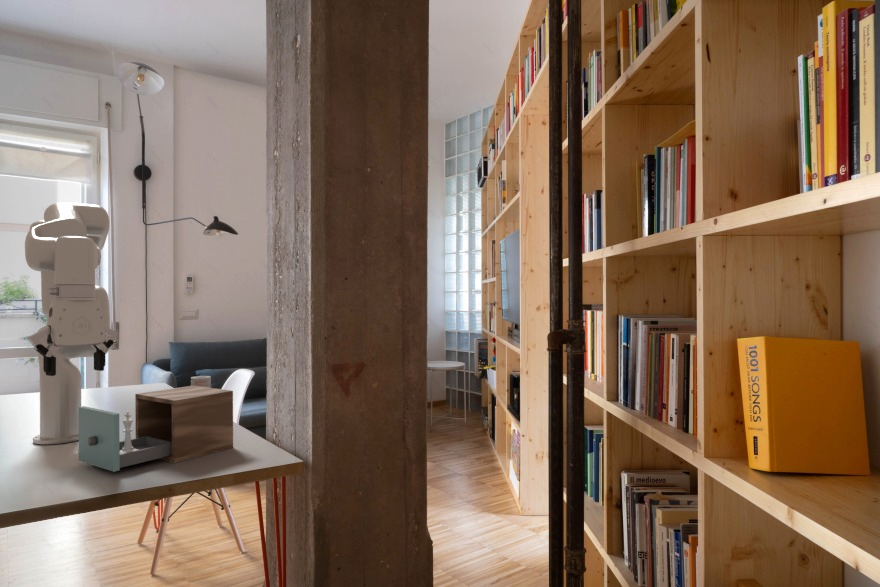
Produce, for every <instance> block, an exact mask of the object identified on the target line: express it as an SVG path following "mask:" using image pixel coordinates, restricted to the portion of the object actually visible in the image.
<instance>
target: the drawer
mask: <svg viewBox="0 0 880 587" xmlns="http://www.w3.org/2000/svg"><path fill="white" fill-rule="evenodd" d="M124 442H125V440H123V441H120V413H119V412H113V411H109V410H104V409H99V408H95V407H89V406H83V405H82V406H81V407H79V440H78V462H79V461H80V462H82V463H84V464H85V463H86V464H88V465H91V466H94V467H98V468H101V469H104V470H106V471H107V470H108V471H110V472H112V473H113V472H117V471H118V472H119V471H120V469H121V468H125V467H129V466H133V465H137V464H141V463H145V462H150V461H153V460H159V458H162V457H166V456H170V455H172V442H170V441H166V440H161V439H157V438H153V437H149V436H145V437H140V438H136V437H135V438H131V443H132V446H133V448H135V449H138V450H136V451H132V452H127V453H123V454H120V450H123V449H122V448H123V447H124Z"/></svg>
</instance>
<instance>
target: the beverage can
mask: <svg viewBox="0 0 880 587" xmlns="http://www.w3.org/2000/svg"><path fill="white" fill-rule="evenodd" d="M190 379H191V380H190V386H193V385H194V386H201V387H208V388H212V377H211V376H210V375H198V376H197V375H196V376H191V377H190Z"/></svg>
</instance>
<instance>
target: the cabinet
mask: <svg viewBox="0 0 880 587" xmlns="http://www.w3.org/2000/svg"><path fill="white" fill-rule="evenodd" d="M134 399H135V405H134V406H135V410H134V412H135V438H140V437H145V436H149V437H153V438H157V439H161V440H166V441H170V442H172V455H170V456H166V457H162V458H158V460H162V459H163V460H162V461H166V460H167V462H170V461H171V463H173V462H176V463H180V462H183V460H184V461H188V460H191V459H195V457H196V458H200V457H203V456H206V454H207V455H210V454H209V453H211V454H214V453H213V452H215V453H217V451H219V452H221V450H222V451H226V450H230V449H233V448H234V391H233V390H228V389H222V388H213V387H211V388H208V387H201V386H194V385H193V386H191V385H188V386H182V387H175V388H168V389H167V388H165V389H161V390H154V391H145V392H140V393H139V392H138V393H135V398H134ZM225 449H226V450H225ZM202 455H203V456H202ZM187 459H188V460H187ZM179 461H180V462H179Z"/></svg>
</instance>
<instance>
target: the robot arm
mask: <svg viewBox="0 0 880 587" xmlns="http://www.w3.org/2000/svg"><path fill="white" fill-rule="evenodd" d="M109 230H110V217H109V214H108V212H107V211H106V209H105V208H104V207H102V206H101V205H98V204H92V203H91V204H90V203H77V202H63V201H62V202H55V203H52V204H51V205H49V206H47V208H46V209H45V210H44V213H43V220H42V219H40V220H36V221H34V222H32V223H31V225H30V226H29V230H28V232H27V234H26V236H25V240H24V256H25V262H26V264H27V266H28V267H29V268H30V269H31V270H33V271H36V272H40V279H41V280H40V285H41V292H40V293H41V294H40V296H41V307H42V308H41V309H42V310H41V311H42V312H43V315H44V316H45V317H46V319H47V320H46V325H44V326H42V327H40V328H39V329H38V330H37V331H36V332H35V333H33V334H31V335H30V336H28V341H29V342H30V344H31V345H32V347H33V349H34V351H36V352H37V357H38V359H37V360H38V367H39V369H38V370H39V434H38V435H35V436H33V438H32V443H33V444H36V445H57V444H59V445H60V444H65V443H72V442H77V441H79V407H82V374H81V371H80V369H79V368H78V367H77V366H76V365H75V364H74V363H72V362H71V359H76V358H91V357H92V358H93V370H94V371H100V372H102V371H104V370H105V366H106V355H107V354H108V352H110V349H111V347H112V346H113V344H114V341H116V338H117V336H118V332H117V330H116V331H115V330H113V329H111V321H110V319H111V318H110V300H109V295H108V292H107V290H106V289H105V288H104V286H100V285H96V270H97V268H98V267H99V266H100V264H101V258H102V255H101V254H102V249H103V248H104V247H105V244H106V240H107V237H108V234H109Z"/></svg>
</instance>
